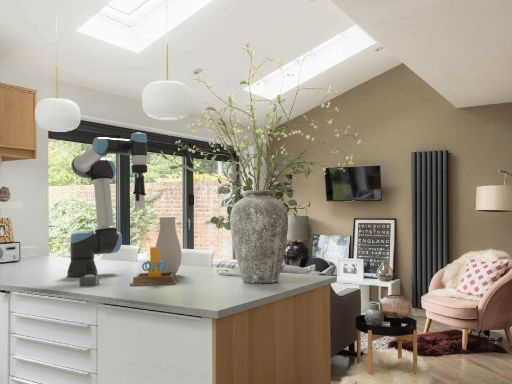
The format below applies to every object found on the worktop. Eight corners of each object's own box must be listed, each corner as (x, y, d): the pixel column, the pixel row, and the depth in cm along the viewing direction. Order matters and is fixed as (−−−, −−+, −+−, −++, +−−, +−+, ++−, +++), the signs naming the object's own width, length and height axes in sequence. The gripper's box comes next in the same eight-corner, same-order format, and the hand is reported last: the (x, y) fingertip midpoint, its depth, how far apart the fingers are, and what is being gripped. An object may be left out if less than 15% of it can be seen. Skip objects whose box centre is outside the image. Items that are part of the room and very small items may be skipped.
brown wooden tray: (136, 280, 246) (136, 273, 246) (178, 278, 248) (177, 271, 248) (129, 285, 227) (129, 278, 227) (175, 284, 229) (175, 276, 229)
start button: (86, 281, 234) (86, 274, 234) (95, 280, 234) (95, 274, 234) (83, 282, 230) (83, 275, 230) (93, 282, 230) (93, 275, 230)
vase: (176, 277, 255) (176, 217, 256) (150, 277, 257) (149, 217, 258) (185, 273, 268) (184, 216, 269) (160, 273, 270) (159, 217, 272)
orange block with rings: (163, 281, 231) (163, 248, 232) (140, 281, 231) (140, 248, 232) (168, 278, 243) (168, 246, 244) (146, 278, 243) (146, 246, 244)
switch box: (83, 284, 235) (83, 275, 235) (99, 283, 236) (99, 275, 236) (79, 286, 228) (79, 277, 228) (95, 286, 229) (95, 277, 229)
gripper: (135, 167, 262) (135, 208, 261) (127, 162, 237) (127, 208, 236) (150, 166, 262) (150, 208, 262) (143, 162, 238) (144, 207, 237)
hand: (139, 208), depth 249 cm, fingers open, 13 cm apart
